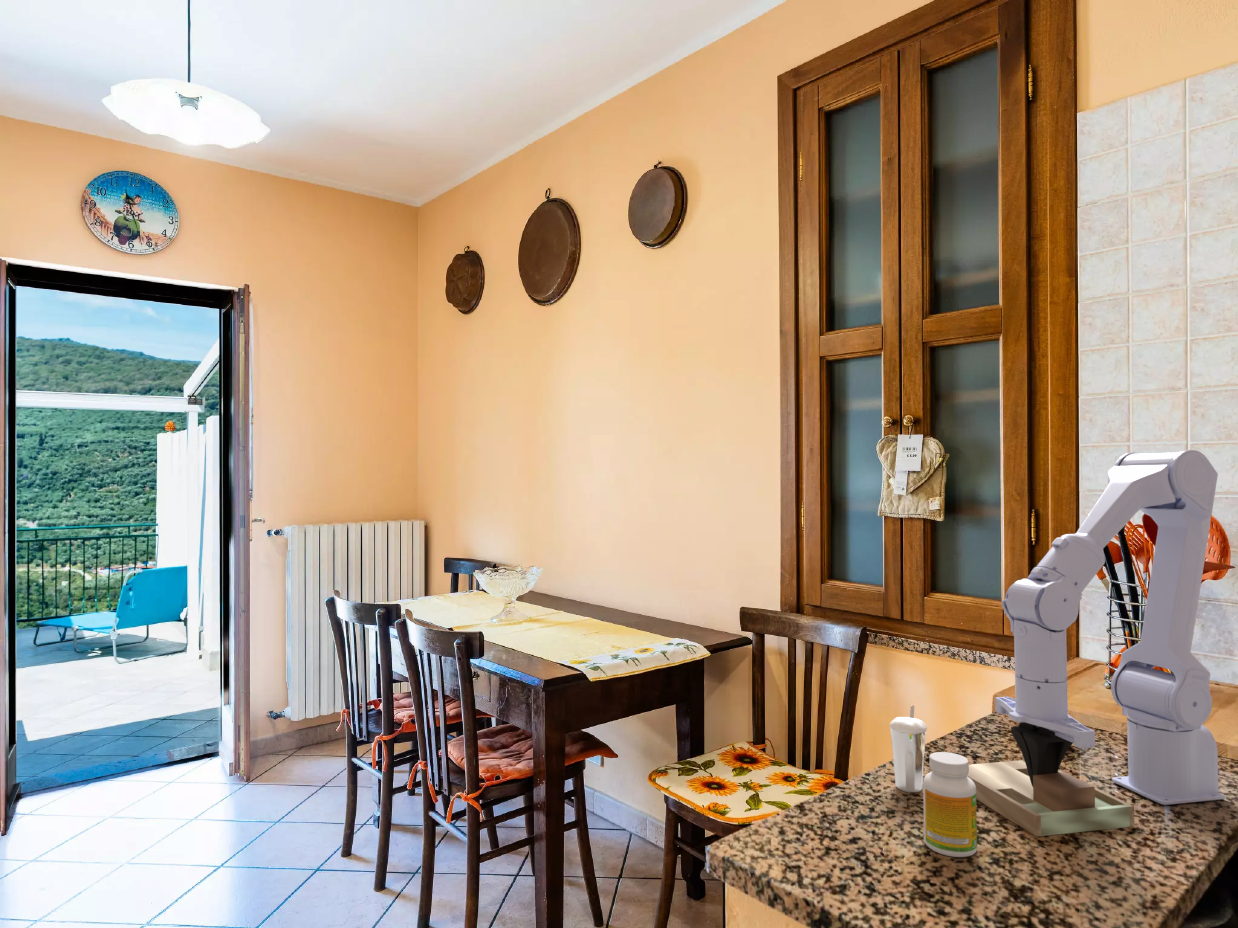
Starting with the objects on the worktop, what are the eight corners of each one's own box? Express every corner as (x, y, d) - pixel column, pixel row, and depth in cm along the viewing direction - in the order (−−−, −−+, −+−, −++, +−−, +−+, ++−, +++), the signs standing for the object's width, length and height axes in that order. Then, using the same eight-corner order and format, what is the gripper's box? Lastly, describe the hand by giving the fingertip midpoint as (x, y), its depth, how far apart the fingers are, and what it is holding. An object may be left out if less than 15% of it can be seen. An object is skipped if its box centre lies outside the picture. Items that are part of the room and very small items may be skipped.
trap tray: (1026, 770, 106) (1026, 753, 106) (1134, 826, 89) (1133, 806, 89) (942, 777, 104) (942, 760, 104) (1036, 836, 86) (1036, 815, 87)
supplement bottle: (983, 860, 81) (981, 768, 81) (929, 855, 82) (927, 764, 82) (970, 837, 86) (969, 750, 87) (919, 833, 87) (918, 747, 88)
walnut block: (1065, 796, 94) (1065, 772, 94) (1095, 812, 89) (1094, 786, 89) (1033, 800, 93) (1033, 775, 93) (1061, 815, 88) (1061, 789, 88)
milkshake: (931, 783, 102) (930, 707, 102) (923, 797, 97) (922, 718, 98) (896, 776, 104) (895, 702, 105) (887, 789, 100) (886, 712, 100)
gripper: (974, 665, 101) (975, 768, 101) (1056, 694, 87) (1058, 815, 87) (1021, 662, 103) (1022, 764, 102) (1109, 691, 88) (1112, 809, 88)
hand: (1042, 787), depth 95 cm, fingers closed
